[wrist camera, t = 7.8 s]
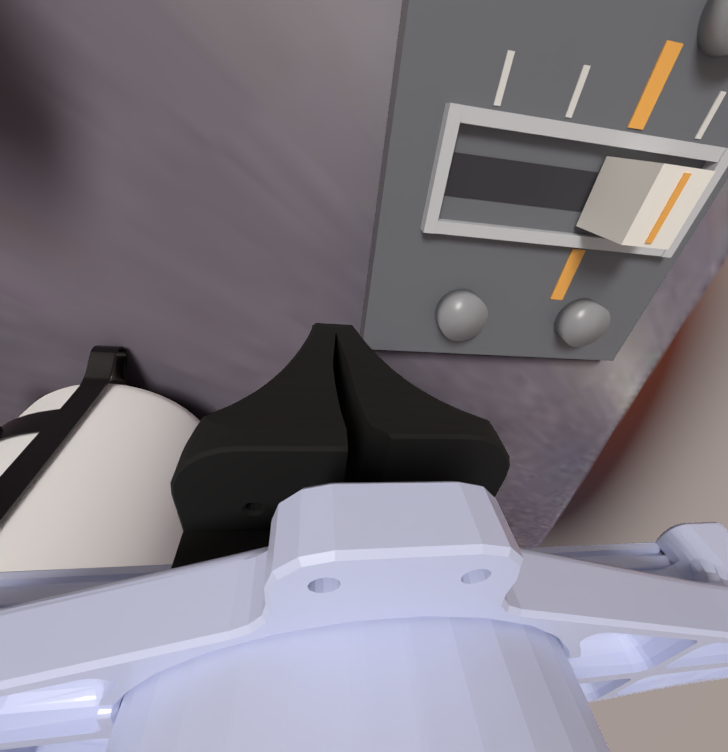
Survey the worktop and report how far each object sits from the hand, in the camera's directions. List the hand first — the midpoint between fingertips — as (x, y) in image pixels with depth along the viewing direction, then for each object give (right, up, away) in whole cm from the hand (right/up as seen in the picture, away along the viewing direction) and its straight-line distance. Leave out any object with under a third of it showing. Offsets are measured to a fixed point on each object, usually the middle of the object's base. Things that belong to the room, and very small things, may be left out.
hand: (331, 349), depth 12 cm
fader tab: (+14, +8, +6) cm, 17 cm away
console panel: (+11, +9, +7) cm, 16 cm away
